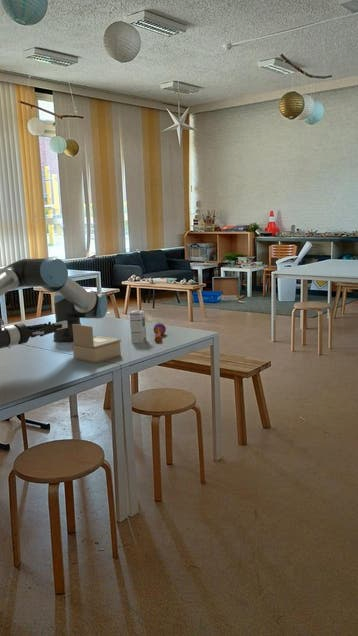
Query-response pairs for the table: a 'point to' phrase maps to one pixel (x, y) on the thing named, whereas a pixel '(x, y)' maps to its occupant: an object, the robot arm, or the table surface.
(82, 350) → the box
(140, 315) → the syrup box
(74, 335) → the lid
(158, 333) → the kendama
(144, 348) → the table surface
